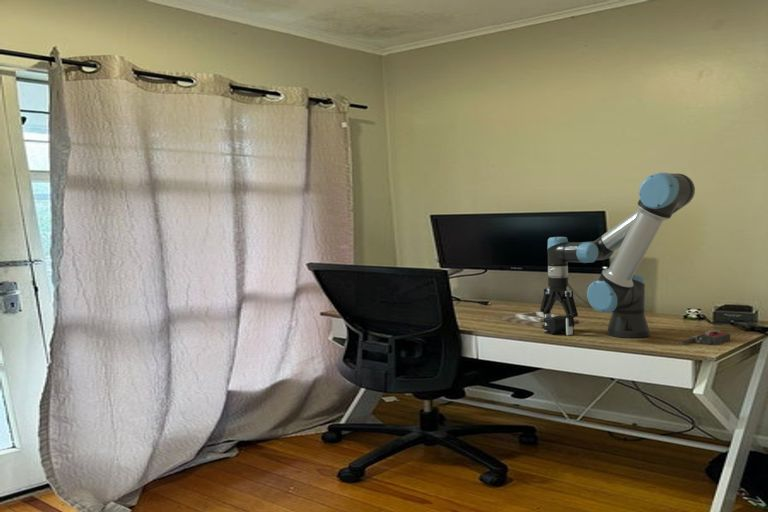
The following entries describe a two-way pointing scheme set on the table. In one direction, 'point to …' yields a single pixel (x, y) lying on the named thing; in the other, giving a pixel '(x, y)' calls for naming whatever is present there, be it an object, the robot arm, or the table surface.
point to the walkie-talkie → (710, 337)
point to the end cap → (555, 325)
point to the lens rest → (529, 319)
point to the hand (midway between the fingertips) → (558, 332)
